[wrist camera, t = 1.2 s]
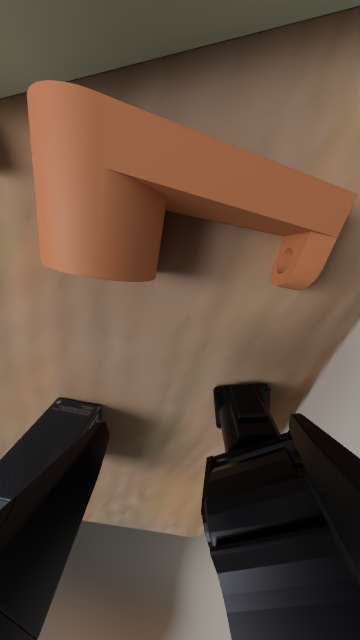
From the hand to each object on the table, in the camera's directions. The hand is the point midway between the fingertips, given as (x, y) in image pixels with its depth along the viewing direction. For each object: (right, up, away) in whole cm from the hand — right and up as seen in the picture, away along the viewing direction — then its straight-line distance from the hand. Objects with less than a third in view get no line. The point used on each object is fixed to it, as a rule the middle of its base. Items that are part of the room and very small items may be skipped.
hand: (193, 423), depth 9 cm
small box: (-15, -11, +18) cm, 26 cm away
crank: (0, +13, +8) cm, 15 cm away
